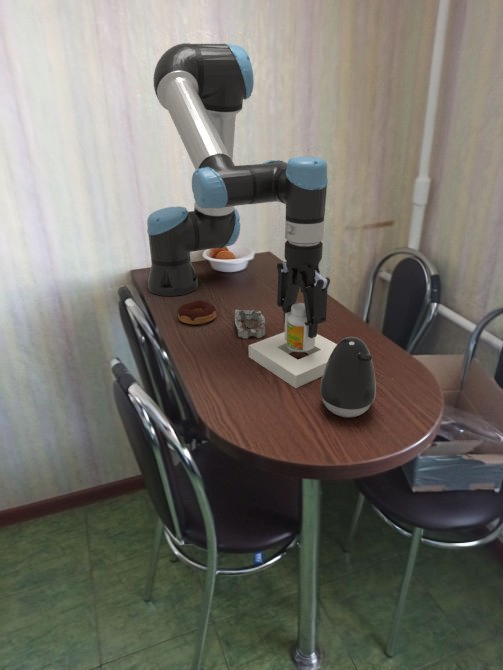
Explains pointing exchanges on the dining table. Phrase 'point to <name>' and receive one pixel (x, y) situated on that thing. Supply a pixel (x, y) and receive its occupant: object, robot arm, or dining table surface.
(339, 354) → the pump dispenser
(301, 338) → the supplement bottle
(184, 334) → the dining table surface
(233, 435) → the dining table surface
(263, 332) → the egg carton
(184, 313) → the donut
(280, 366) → the socket holder
